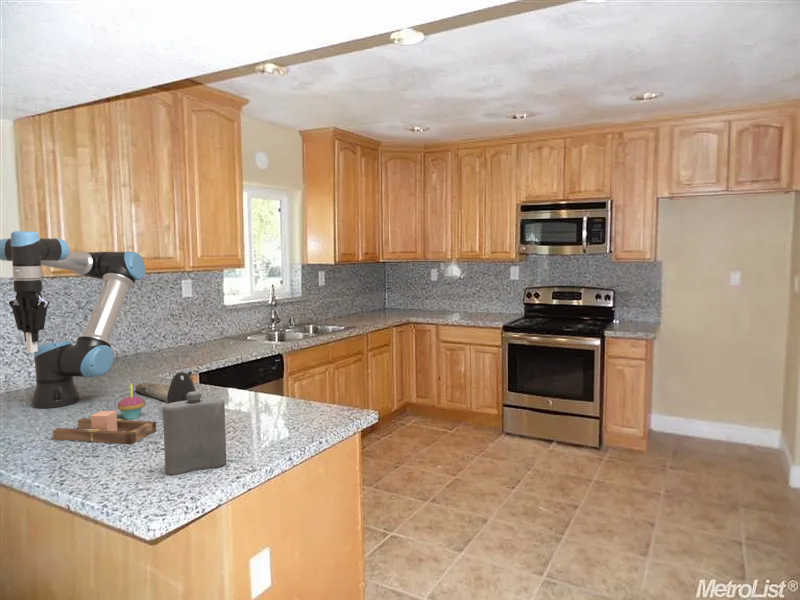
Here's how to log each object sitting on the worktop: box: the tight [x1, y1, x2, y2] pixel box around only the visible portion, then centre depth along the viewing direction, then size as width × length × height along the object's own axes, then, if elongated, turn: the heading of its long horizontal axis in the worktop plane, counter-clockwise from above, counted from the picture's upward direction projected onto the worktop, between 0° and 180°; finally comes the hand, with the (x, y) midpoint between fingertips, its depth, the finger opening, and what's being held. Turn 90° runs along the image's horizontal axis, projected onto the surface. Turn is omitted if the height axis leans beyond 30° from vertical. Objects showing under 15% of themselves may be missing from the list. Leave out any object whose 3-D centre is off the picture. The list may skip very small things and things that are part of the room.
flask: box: [162, 390, 227, 476], centre depth 139 cm, size 15×6×20 cm, turn 115°
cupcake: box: [117, 381, 146, 420], centre depth 182 cm, size 9×8×12 cm
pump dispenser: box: [165, 371, 197, 405], centre depth 184 cm, size 10×10×15 cm
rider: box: [90, 410, 118, 431], centre depth 164 cm, size 5×5×7 cm
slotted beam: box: [52, 417, 157, 445], centre depth 164 cm, size 12×26×3 cm, turn 81°
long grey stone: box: [135, 382, 170, 403], centre depth 209 cm, size 35×5×10 cm
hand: (32, 351), depth 173 cm, fingers closed
